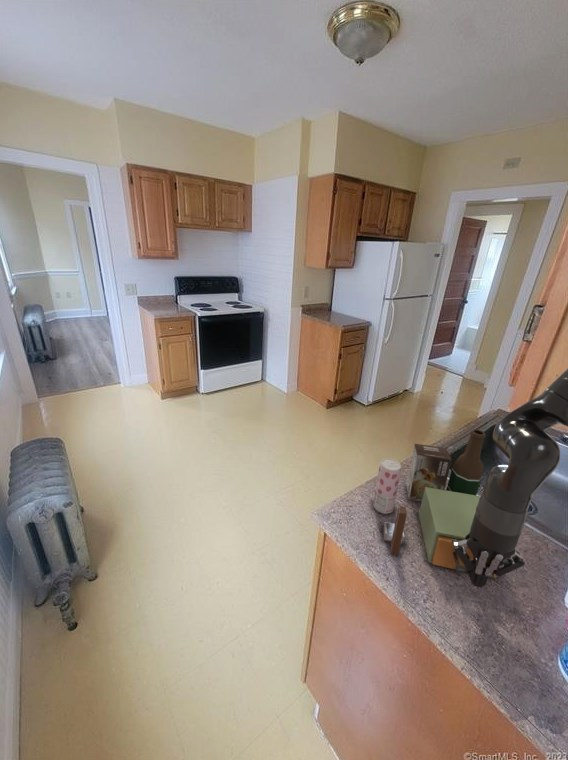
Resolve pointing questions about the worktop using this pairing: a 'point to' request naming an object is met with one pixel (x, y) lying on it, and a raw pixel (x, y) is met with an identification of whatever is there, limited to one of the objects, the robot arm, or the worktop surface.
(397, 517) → the scoop
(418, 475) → the coffee box
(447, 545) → the drawer
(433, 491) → the cabinet
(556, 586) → the worktop surface
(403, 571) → the worktop surface
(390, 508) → the beverage can
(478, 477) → the beer bottle
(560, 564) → the worktop surface
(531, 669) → the worktop surface
